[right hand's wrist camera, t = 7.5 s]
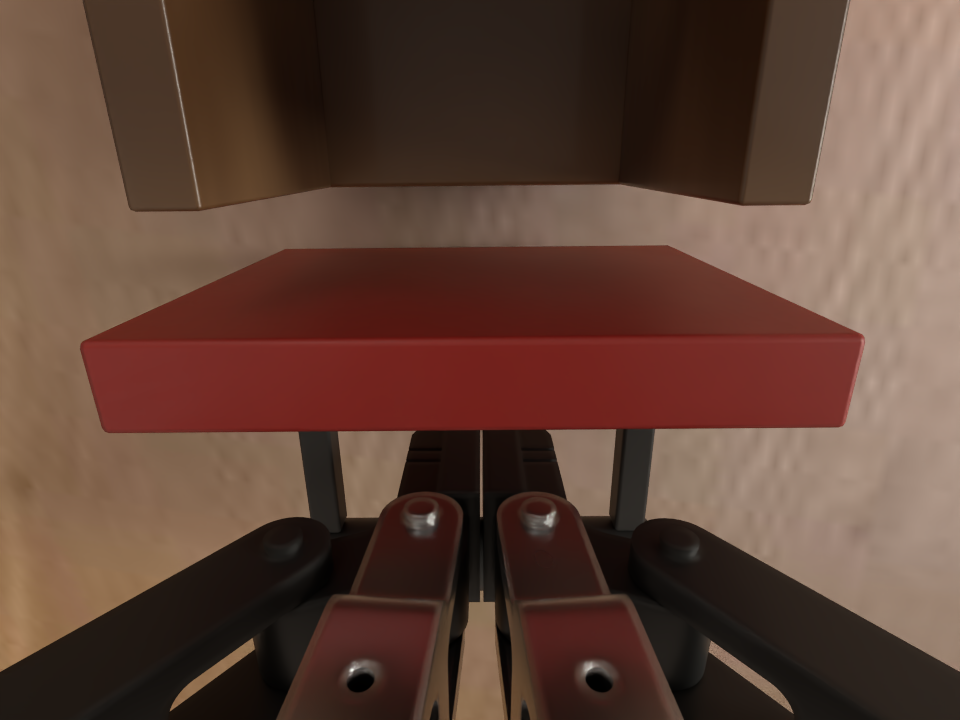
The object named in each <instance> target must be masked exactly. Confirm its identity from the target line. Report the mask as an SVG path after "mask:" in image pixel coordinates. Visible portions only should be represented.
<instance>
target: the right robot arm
mask: <svg viewBox="0 0 960 720" xmlns="http://www.w3.org/2000/svg"><path fill="white" fill-rule="evenodd" d="M483 591H484V602H495V645H496V653H497V661H498V670H499V678H500V686H501V695H502V703H503V711H504V720H960V672H959V671H957V670H955V669H954V668H952V667H950V666H948V665H946V664H945V663H943V662H941V661H939V660H937V659H936V658H934V657H932V656H930V655H928V654H927V653H925V652H923V651H921V650H919V649H918V648H916V647H914V646H912V645H910V644H909V643H907V642H905V641H903V640H902V639H900V638H898V637H896V636H894V635H893V634H891V633H889V632H887V631H885V630H884V629H882V628H880V627H878V626H876V625H875V624H873V623H871V622H869V621H867V620H866V619H864V618H862V617H860V616H858V615H857V614H855V613H853V612H851V611H850V610H848V609H846V608H844V607H842V606H841V605H839V604H837V603H835V602H833V601H832V600H830V599H828V598H826V597H824V596H823V595H821V594H819V593H817V592H815V591H814V590H812V589H810V588H808V587H807V586H805V585H803V584H801V583H799V582H798V581H796V580H794V579H792V578H790V577H789V576H787V575H785V574H783V573H781V572H780V571H778V570H776V569H774V568H772V567H771V566H769V565H767V564H765V563H763V562H762V561H760V560H758V559H756V558H755V557H753V556H751V555H749V554H747V553H746V552H744V551H742V550H740V549H738V548H737V547H735V546H733V545H731V544H729V543H728V542H726V541H724V540H722V539H720V538H719V537H717V536H715V535H713V534H711V533H710V532H708V531H706V530H704V529H702V528H700V527H698V526H696V525H694V524H691V523H689V522H685V521H681V520H676V519H668V518H660V519H652V520H649V521H645V522H643V523H641V524H640V525H639V526H637V527H636V528H635V530H634V531H633V534H632V538H626V537H622V536H617V535H612V534H608V533H605V532H601V531H599V530H596V529H594V528H592V527H590V526H587V525H586V524H584V523H583V522H582V519H581V517H580V514H579V512H578V511H577V509H576V508H575V507H574V506H573V505H572V504H571V503H570V502H569V501H567V499H566V495H565V491H564V487H563V483H562V479H561V475H560V471H559V466H558V462H557V458H556V454H555V451H554V446H553V442H552V438H551V435H550V434H549V433H548V432H547V431H546V430H483ZM469 602H480V430H431V431H416V432H415V433H414V434H413V435H412V438H411V442H410V446H409V451H408V455H407V459H406V463H405V467H404V471H403V476H402V480H401V484H400V488H399V492H398V497H397V498H396V499H395V500H393V501H391V502H390V503H389V504H388V505H386V507H385V508H384V509H383V510H382V512H381V514H380V517H379V519H378V522H377V524H376V526H375V527H373V528H371V529H368V530H366V531H363V532H360V533H356V534H352V535H348V536H343V537H339V538H334V539H331V537H330V533H329V530H328V529H327V527H326V526H325V525H324V524H322V523H321V522H319V521H317V520H314V519H311V518H304V517H292V518H285V519H280V520H276V521H273V522H270V523H268V524H265V525H263V526H261V527H259V528H258V529H256V530H254V531H252V532H250V533H249V534H247V535H245V536H243V537H241V538H240V539H238V540H236V541H234V542H232V543H231V544H229V545H227V546H225V547H223V548H222V549H220V550H218V551H216V552H214V553H213V554H211V555H209V556H207V557H206V558H204V559H202V560H200V561H198V562H197V563H195V564H193V565H191V566H189V567H188V568H186V569H184V570H182V571H180V572H179V573H177V574H175V575H173V576H171V577H170V578H168V579H166V580H164V581H162V582H161V583H159V584H157V585H155V586H154V587H152V588H150V589H148V590H146V591H145V592H143V593H141V594H139V595H137V596H136V597H134V598H132V599H130V600H128V601H127V602H125V603H123V604H121V605H119V606H118V607H116V608H114V609H112V610H110V611H109V612H107V613H105V614H103V615H102V616H100V617H98V618H96V619H94V620H93V621H91V622H89V623H87V624H85V625H84V626H82V627H80V628H78V629H76V630H75V631H73V632H71V633H69V634H67V635H66V636H64V637H62V638H60V639H58V640H57V641H55V642H53V643H51V644H50V645H48V646H46V647H44V648H42V649H41V650H39V651H37V652H35V653H33V654H32V655H30V656H28V657H26V658H24V659H23V660H21V661H19V662H17V663H15V664H14V665H12V666H10V667H8V668H6V669H5V670H3V671H1V672H0V720H455V719H456V711H457V703H458V694H459V686H460V678H461V669H462V661H463V653H464V644H465V628H466V625H467V623H468V610H469ZM251 638H253V641H254V646H255V650H253V651H252V652H251V653H249V654H248V655H247V656H245V657H244V658H243V659H241V660H240V661H238V662H237V663H236V664H234V665H233V666H232V667H230V668H229V669H228V670H226V671H225V672H223V673H222V674H221V675H219V676H218V677H217V678H215V679H214V680H213V681H211V682H210V683H208V684H207V685H206V686H204V687H203V688H202V689H200V690H199V691H198V692H196V693H195V694H193V695H192V696H191V697H189V698H188V699H187V700H185V701H184V702H182V703H181V704H180V705H178V706H177V707H176V708H174V709H173V710H172V711H170V708H171V706H172V704H173V702H174V700H175V699H176V697H177V696H178V694H179V693H180V692H181V691H182V690H183V688H185V687H186V686H187V685H188V684H189V683H190V682H191V681H193V680H194V679H195V678H197V677H198V676H200V675H201V674H202V673H204V672H205V671H207V670H208V669H209V668H211V667H212V666H214V665H215V664H216V663H218V662H219V661H221V660H222V659H223V658H225V657H226V656H228V655H229V654H230V653H232V652H233V651H235V650H236V649H237V648H239V647H240V646H242V645H243V644H244V643H246V642H247V641H249V640H250V639H251ZM711 641H713V642H714V643H716V644H717V645H718V646H720V647H721V648H723V649H724V650H725V651H727V652H728V653H730V654H731V655H732V656H734V657H735V658H737V659H738V660H739V661H741V662H742V663H744V664H745V665H746V666H748V667H749V668H751V669H752V670H753V671H755V672H756V673H758V674H759V675H760V676H762V677H763V678H765V679H766V680H767V681H769V682H770V683H771V684H773V685H774V686H775V687H776V688H777V689H778V690H779V691H780V692H781V693H782V694H783V695H784V696H785V698H786V699H787V701H788V702H789V704H790V706H791V708H792V710H793V713H794V714H793V713H791V712H790V711H788V710H787V709H786V708H784V707H783V706H782V705H780V704H779V703H778V702H776V701H775V700H773V699H772V698H771V697H769V696H768V695H767V694H765V693H764V692H763V691H761V690H760V689H758V688H757V687H756V686H754V685H753V684H752V683H750V682H749V681H748V680H746V679H745V678H743V677H742V676H741V675H739V674H738V673H737V672H735V671H734V670H733V669H731V668H730V667H728V666H727V665H726V664H724V663H723V662H722V661H720V660H719V659H717V658H716V657H715V656H713V655H712V654H711V653H709V652H708V651H709V647H710V642H711Z"/></svg>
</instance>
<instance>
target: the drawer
mask: <svg viewBox="0 0 960 720" xmlns="http://www.w3.org/2000/svg"><path fill="white" fill-rule="evenodd" d="M83 4H84V9H85V13H86V18H87V22H88V26H89V31H90V35H91V40H92V44H93V49H94V53H95V58H96V62H97V67H98V71H99V75H100V80H101V84H102V89H103V93H104V98H105V102H106V107H107V111H108V115H109V120H110V124H111V129H112V133H113V138H114V142H115V147H116V151H117V156H118V160H119V164H120V169H121V173H122V178H123V182H124V187H125V191H126V196H127V200H128V205H129V208H130V209H131V210H133V211H136V212H149V211H202V210H207V209H213V208H218V207H224V206H229V205H235V204H240V203H246V202H251V201H257V200H262V199H268V198H273V197H279V196H284V195H290V194H296V193H301V192H307V191H312V190H318V189H323V188H329V187H396V186H495V185H594V184H622V185H627V186H633V187H638V188H644V189H650V190H656V191H661V192H667V193H673V194H678V195H684V196H690V197H696V198H701V199H707V200H713V201H718V202H724V203H730V204H735V205H741V206H751V205H806V204H808V203H810V202H811V200H812V196H813V191H814V185H815V180H816V175H817V170H818V165H819V159H820V154H821V149H822V144H823V139H824V134H825V128H826V123H827V118H828V113H829V108H830V102H831V97H832V92H833V87H834V82H835V77H836V71H837V66H838V61H839V56H840V51H841V46H842V40H843V35H844V30H845V25H846V20H847V14H848V9H849V4H850V0H83ZM864 345H865V339H864V336H863V335H862V334H860V333H858V332H855V331H853V330H851V329H849V328H847V327H845V326H842V325H840V324H838V323H836V322H834V321H831V320H829V319H827V318H825V317H823V316H821V315H818V314H816V313H814V312H812V311H810V310H807V309H805V308H803V307H801V306H799V305H797V304H794V303H792V302H790V301H788V300H786V299H783V298H781V297H779V296H777V295H775V294H773V293H770V292H768V291H766V290H764V289H762V288H759V287H757V286H755V285H753V284H751V283H749V282H746V281H744V280H742V279H740V278H738V277H735V276H733V275H731V274H729V273H727V272H725V271H722V270H720V269H718V268H716V267H714V266H711V265H709V264H707V263H705V262H703V261H701V260H698V259H696V258H694V257H692V256H690V255H687V254H685V253H683V252H681V251H679V250H677V249H674V248H672V247H670V246H668V245H667V246H562V247H457V248H352V249H285V250H282V251H280V252H278V253H276V254H274V255H271V256H269V257H267V258H265V259H263V260H260V261H258V262H256V263H254V264H252V265H249V266H247V267H245V268H243V269H241V270H238V271H236V272H234V273H232V274H230V275H228V276H225V277H223V278H221V279H219V280H217V281H214V282H212V283H210V284H208V285H206V286H203V287H201V288H199V289H197V290H195V291H192V292H190V293H188V294H186V295H184V296H181V297H179V298H177V299H175V300H173V301H170V302H168V303H166V304H164V305H162V306H159V307H157V308H155V309H153V310H151V311H149V312H146V313H144V314H142V315H140V316H138V317H135V318H133V319H131V320H129V321H127V322H124V323H122V324H120V325H118V326H116V327H113V328H111V329H109V330H107V331H105V332H102V333H100V334H98V335H96V336H94V337H91V338H89V339H87V340H85V341H83V342H82V343H81V346H80V350H81V354H82V358H83V361H84V365H85V368H86V372H87V375H88V379H89V383H90V386H91V390H92V393H93V397H94V401H95V404H96V408H97V411H98V415H99V418H100V422H101V426H102V428H103V430H104V431H105V432H108V433H173V432H299V439H300V446H301V453H302V460H303V467H304V474H305V482H306V489H307V496H308V503H309V510H310V517H311V519H314V520H317V521H319V522H321V523H322V524H324V525H325V526H326V527H327V529H328V530H329V533H330V537H331V539H334V538H339V537H343V536H348V535H352V534H356V533H360V532H363V531H366V530H368V529H371V528H373V527H375V526H376V524H377V522H378V519H379V518H346V517H347V511H346V503H345V494H344V485H343V476H342V467H341V458H340V449H339V440H338V431H431V430H560V429H616V439H615V451H614V463H613V474H612V486H611V498H610V509H609V515H610V516H580V517H581V519H582V522H583V523H584V524H586V525H587V526H590V527H592V528H594V529H596V530H599V531H601V532H605V533H608V534H612V535H617V536H622V537H626V538H632V534H633V531H634V530H635V528H636V527H637V526H639V525H640V524H641V523H643V522H645V521H647V520H646V519H645V512H646V504H647V495H648V486H649V477H650V468H651V459H652V451H653V442H654V433H655V429H689V428H818V427H841V426H843V425H844V423H845V421H846V417H847V413H848V409H849V405H850V401H851V397H852V393H853V389H854V385H855V381H856V377H857V373H858V369H859V365H860V361H861V357H862V353H863V349H864ZM480 591H483V517H480Z"/></svg>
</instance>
